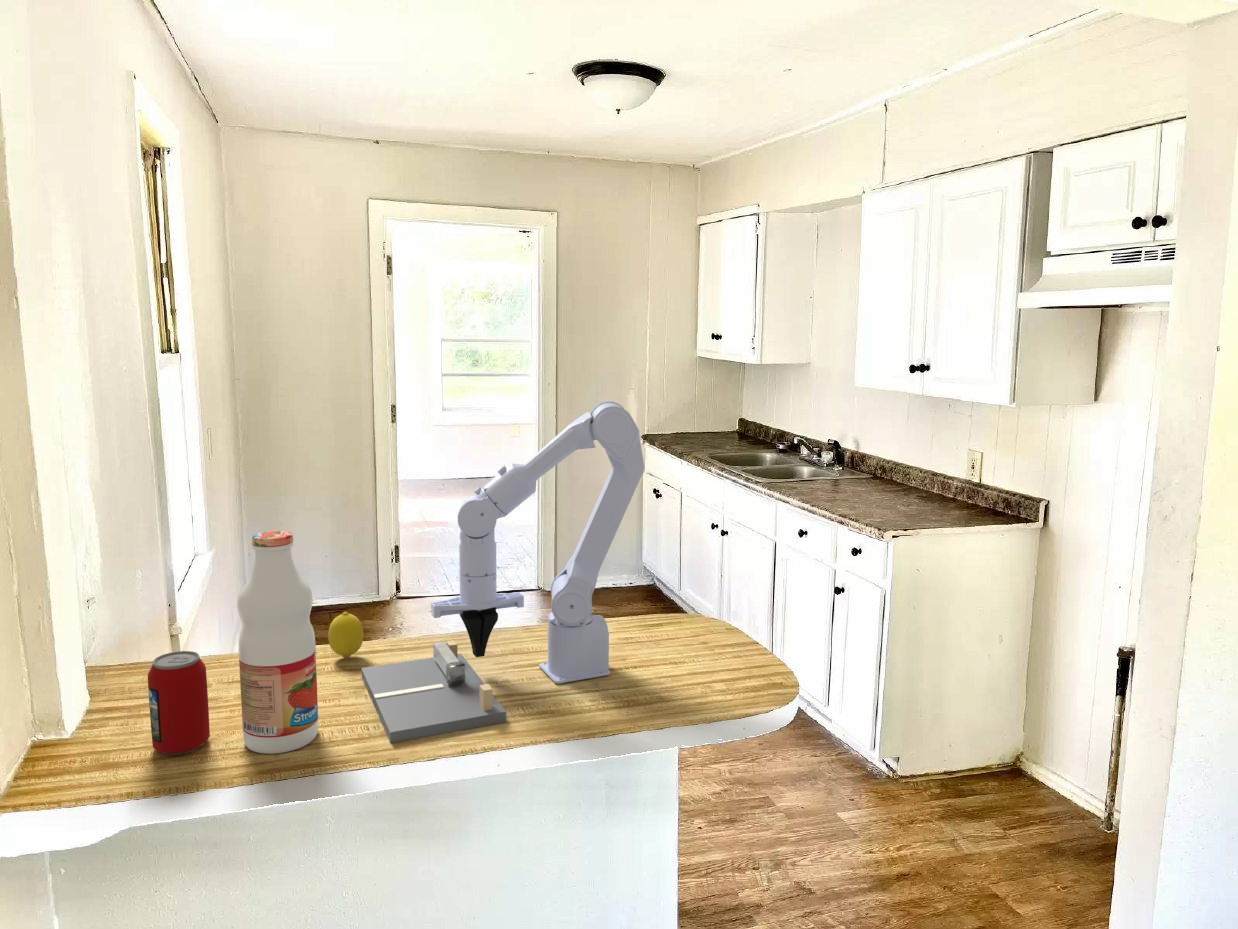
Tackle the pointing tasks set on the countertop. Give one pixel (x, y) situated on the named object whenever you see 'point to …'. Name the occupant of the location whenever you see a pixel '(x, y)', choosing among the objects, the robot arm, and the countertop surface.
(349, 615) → the lemon
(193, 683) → the beverage can
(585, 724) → the countertop surface
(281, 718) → the fruit juice
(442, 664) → the lock bar
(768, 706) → the countertop surface
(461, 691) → the plate
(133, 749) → the countertop surface
